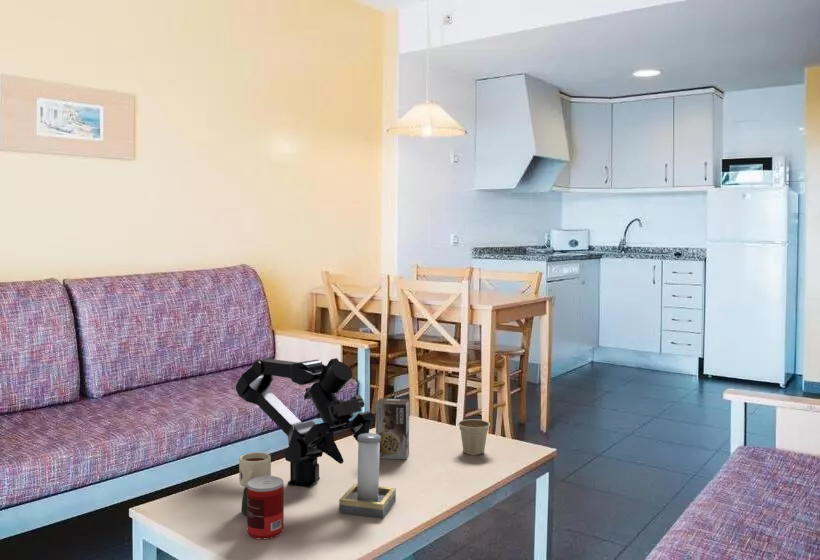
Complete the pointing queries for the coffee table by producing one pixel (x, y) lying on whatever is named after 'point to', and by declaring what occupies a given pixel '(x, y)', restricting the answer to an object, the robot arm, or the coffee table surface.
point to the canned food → (265, 507)
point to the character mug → (252, 471)
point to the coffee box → (393, 427)
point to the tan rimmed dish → (367, 503)
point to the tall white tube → (368, 467)
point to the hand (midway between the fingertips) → (356, 458)
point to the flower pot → (473, 435)
